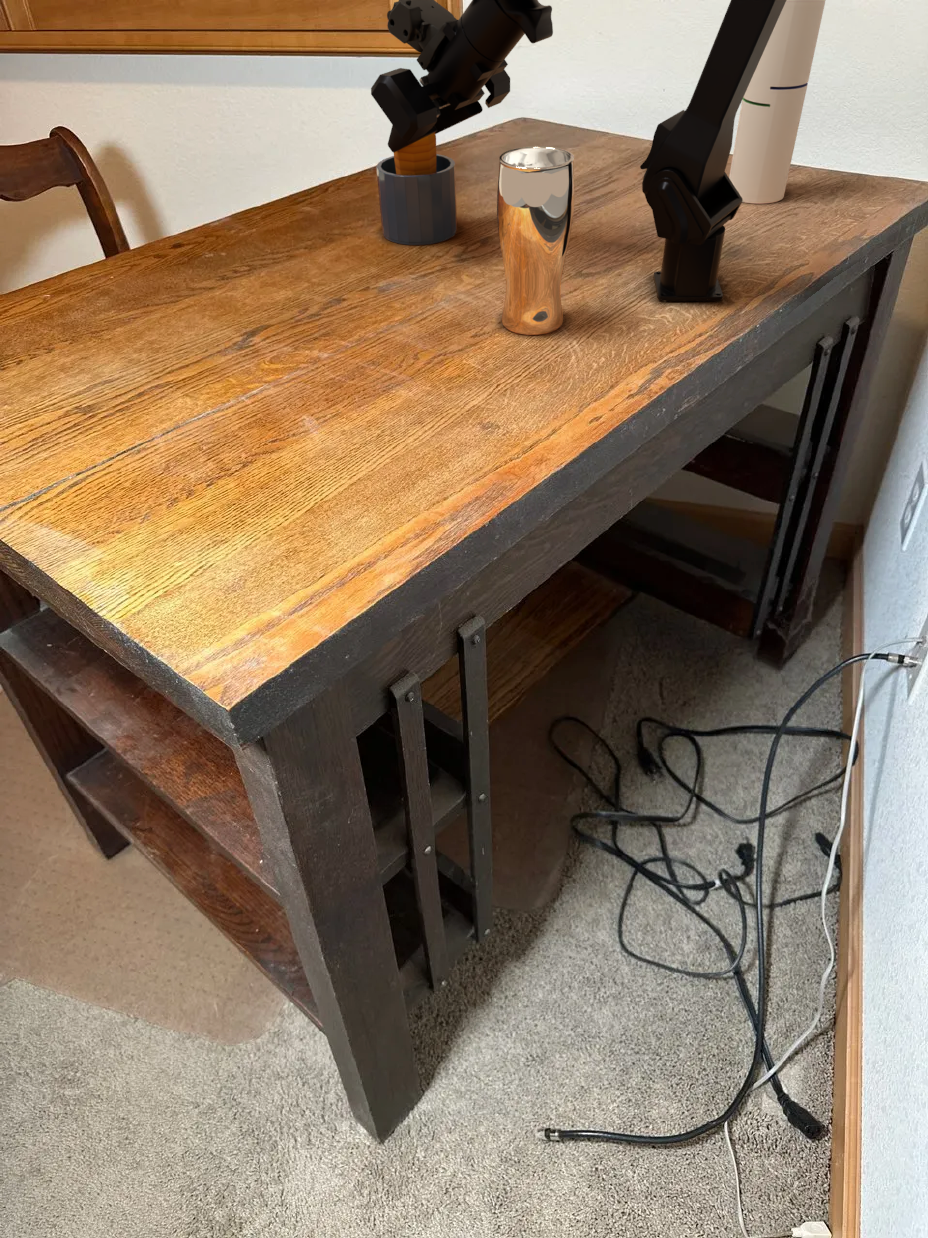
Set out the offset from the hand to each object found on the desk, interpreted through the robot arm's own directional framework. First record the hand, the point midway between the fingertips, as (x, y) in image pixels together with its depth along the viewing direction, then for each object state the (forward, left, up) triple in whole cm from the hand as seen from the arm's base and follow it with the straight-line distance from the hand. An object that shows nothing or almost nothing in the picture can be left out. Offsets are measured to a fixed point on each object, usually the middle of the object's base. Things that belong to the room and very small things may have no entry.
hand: (404, 142), depth 99 cm
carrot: (-1, -1, -9) cm, 10 cm away
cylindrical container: (+12, -43, -10) cm, 46 cm away
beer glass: (-26, -15, -10) cm, 31 cm away
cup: (-1, -1, -10) cm, 10 cm away
